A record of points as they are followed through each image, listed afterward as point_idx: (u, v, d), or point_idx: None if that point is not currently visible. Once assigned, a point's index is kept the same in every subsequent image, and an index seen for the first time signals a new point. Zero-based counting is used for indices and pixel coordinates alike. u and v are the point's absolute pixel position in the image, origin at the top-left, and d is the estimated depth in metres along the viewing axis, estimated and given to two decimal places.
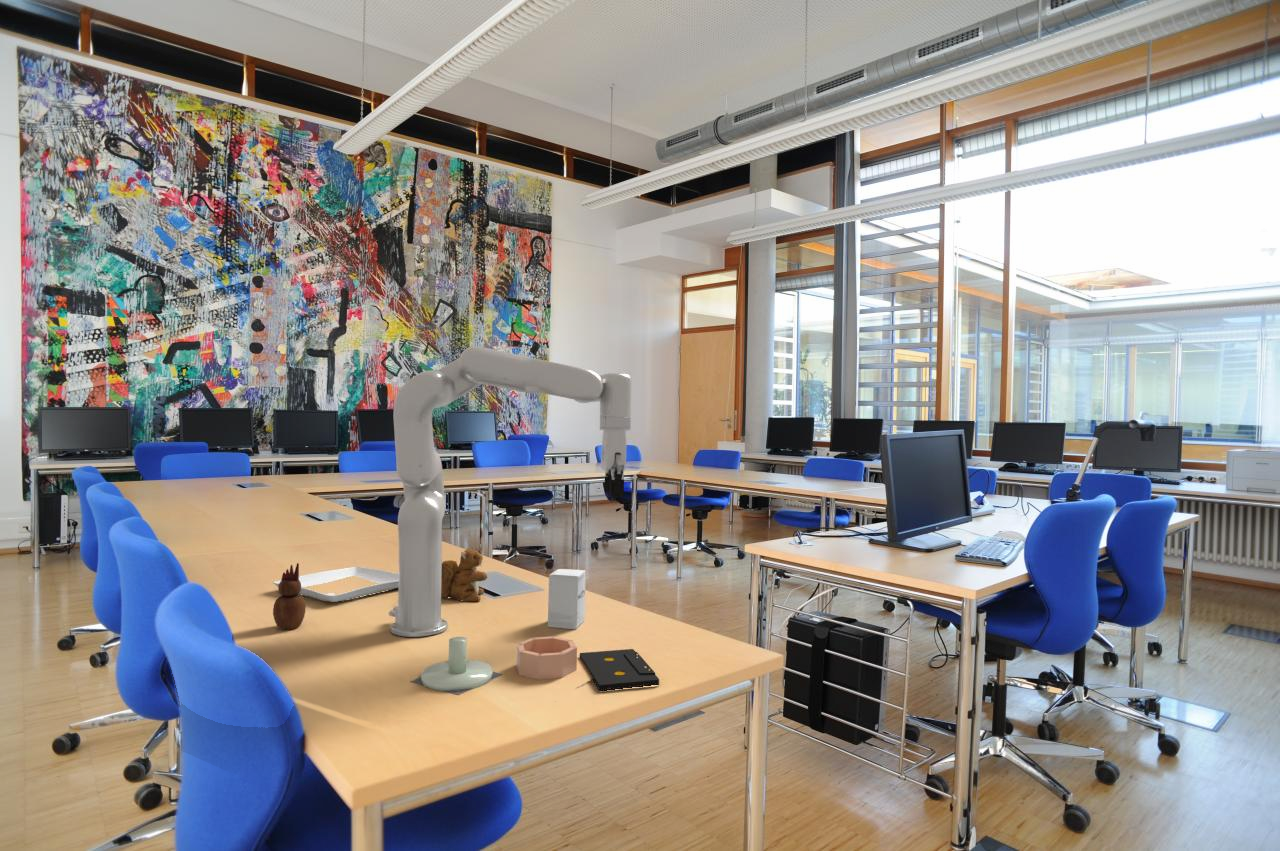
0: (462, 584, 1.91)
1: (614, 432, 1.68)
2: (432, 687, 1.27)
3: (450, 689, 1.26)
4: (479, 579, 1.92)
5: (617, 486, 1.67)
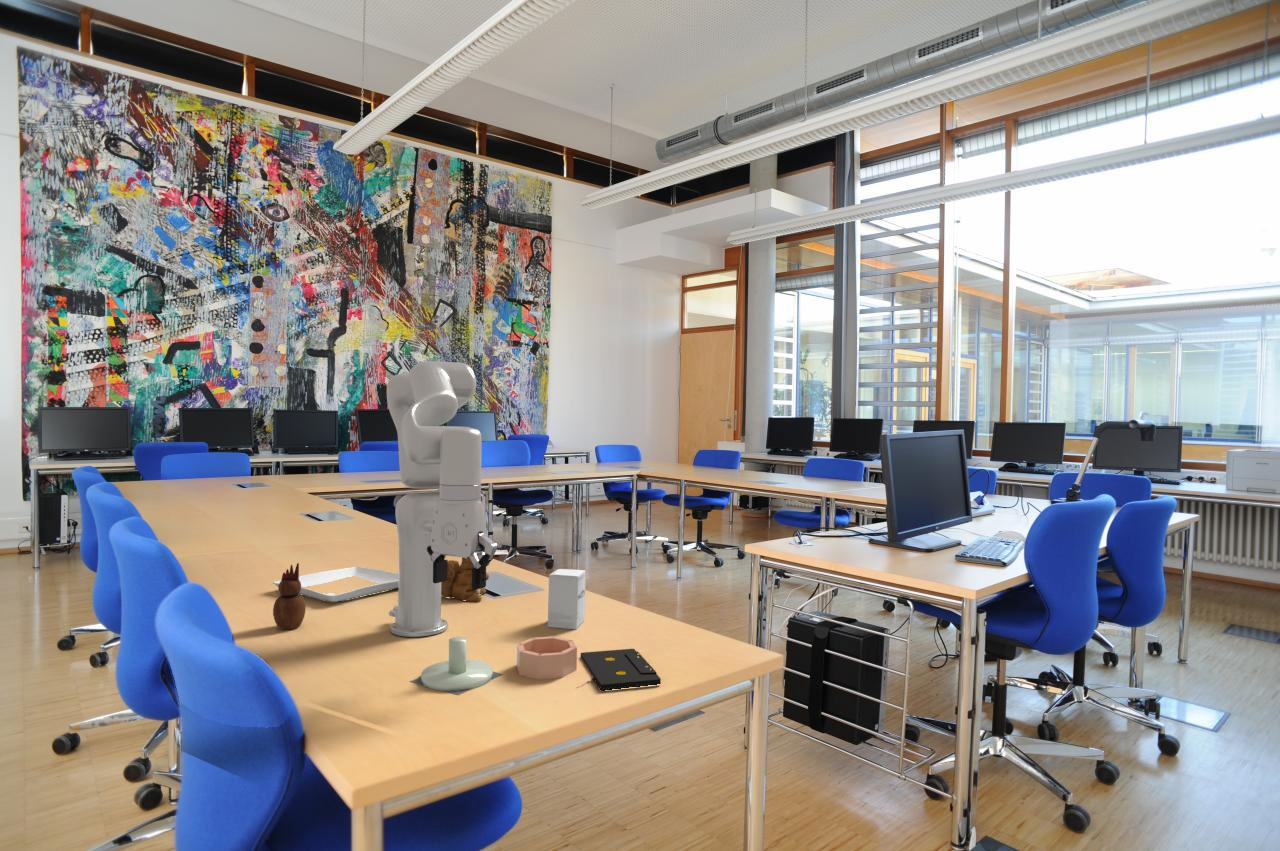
0: (463, 584, 1.91)
1: (475, 506, 1.30)
2: (432, 687, 1.27)
3: (450, 689, 1.26)
4: None
5: (482, 575, 1.30)
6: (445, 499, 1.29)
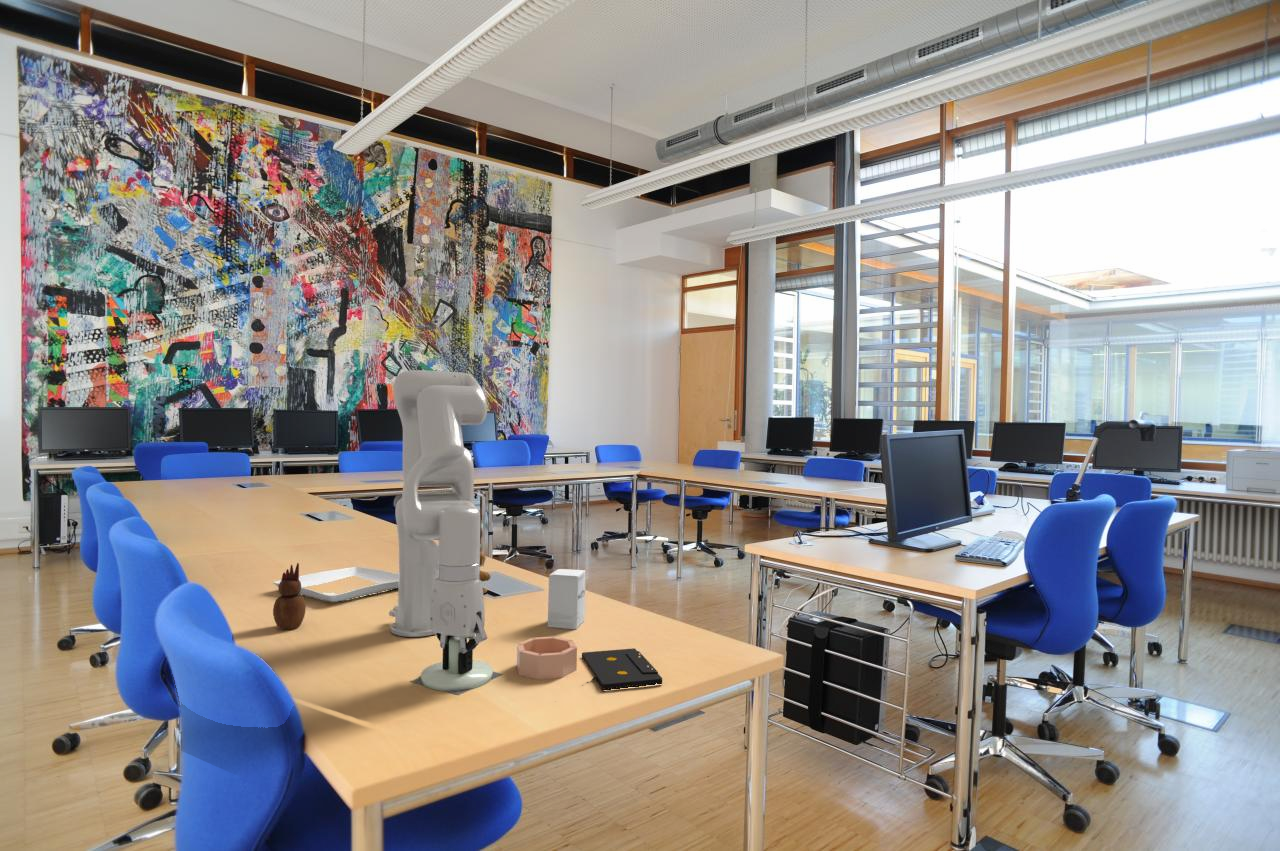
0: None
1: (474, 586, 1.30)
2: (432, 687, 1.27)
3: (450, 689, 1.26)
4: (481, 579, 1.92)
5: (469, 659, 1.31)
6: (444, 579, 1.30)
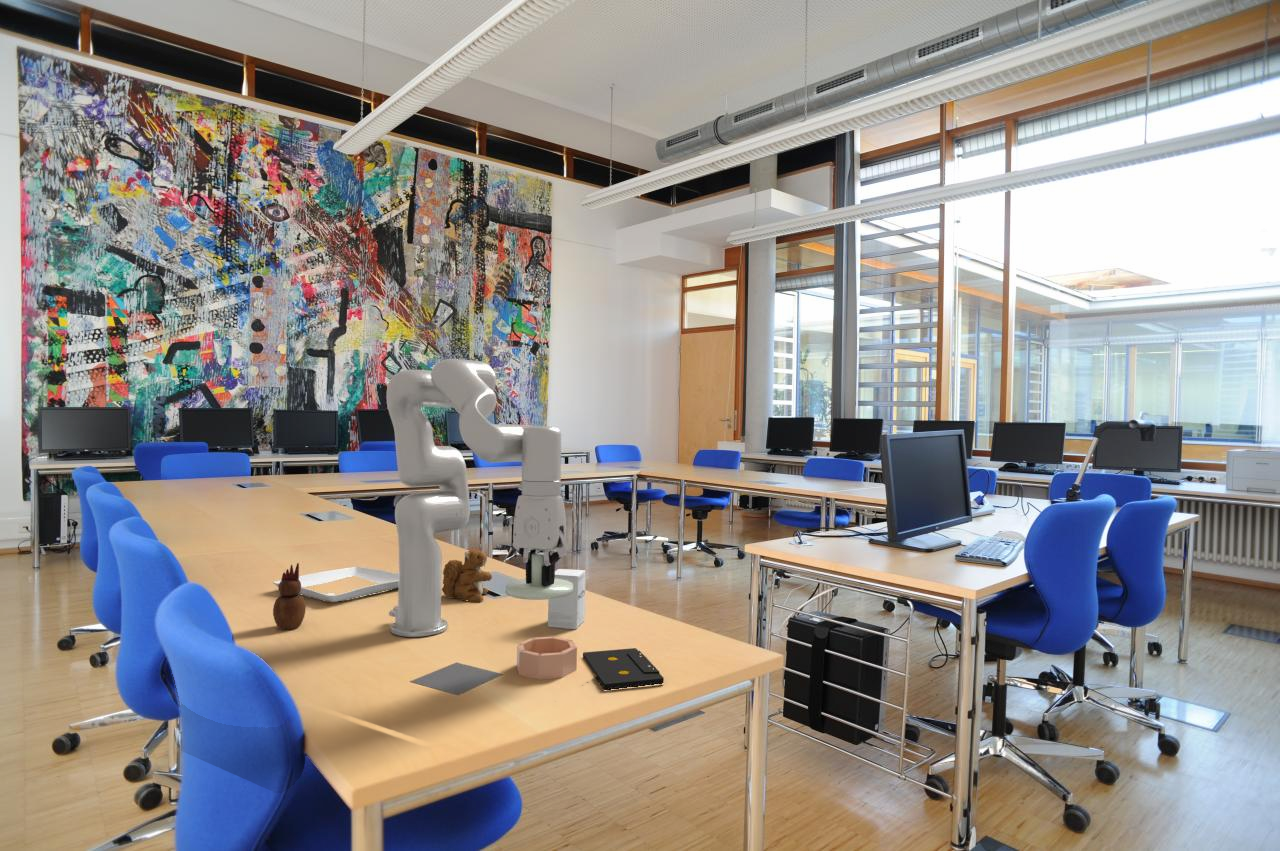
0: (465, 584, 1.91)
1: (557, 501, 1.35)
2: (518, 596, 1.32)
3: (536, 598, 1.31)
4: (482, 579, 1.92)
5: (551, 572, 1.36)
6: (528, 494, 1.35)
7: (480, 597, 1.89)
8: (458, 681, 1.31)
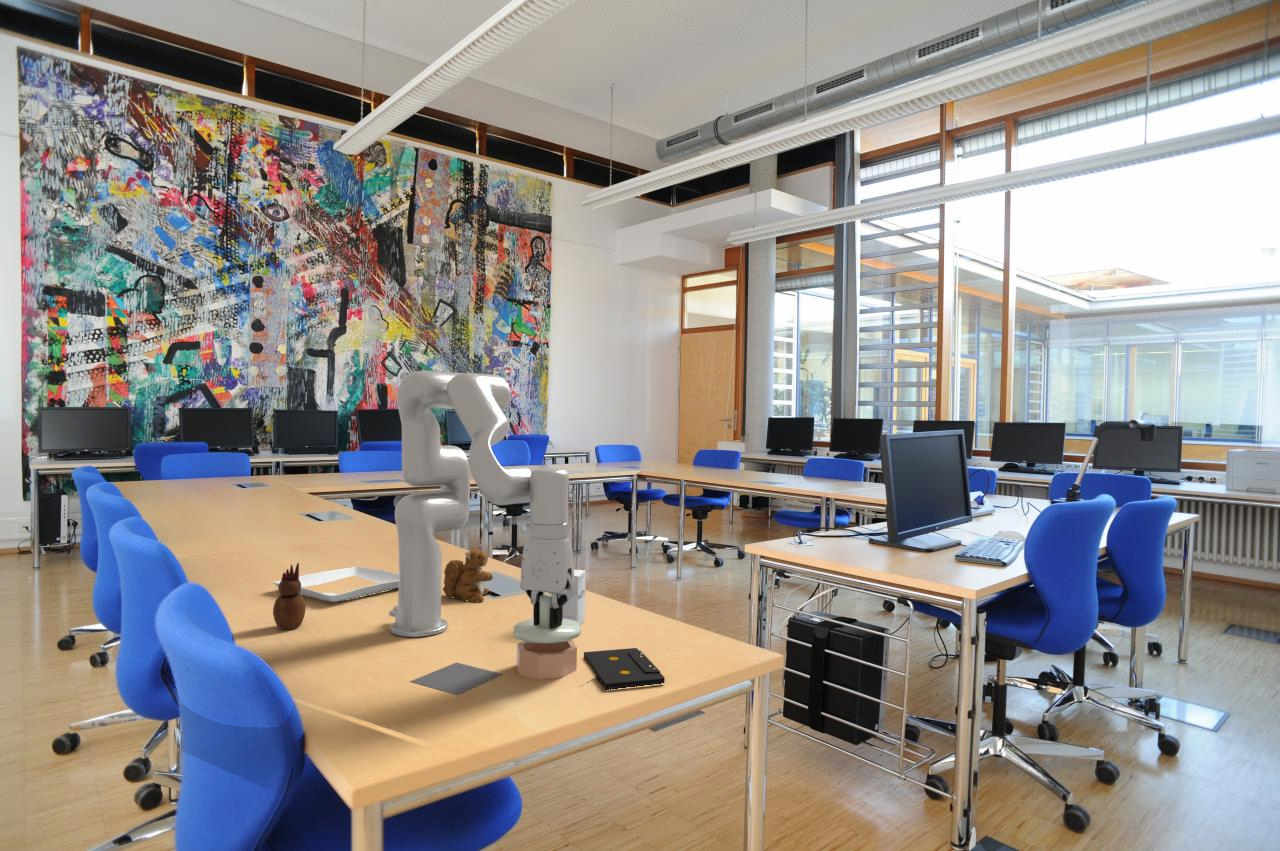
0: (466, 584, 1.91)
1: (565, 544, 1.36)
2: (527, 640, 1.33)
3: (545, 641, 1.32)
4: (483, 579, 1.92)
5: (559, 614, 1.37)
6: (536, 538, 1.35)
7: (481, 597, 1.89)
8: (458, 681, 1.31)
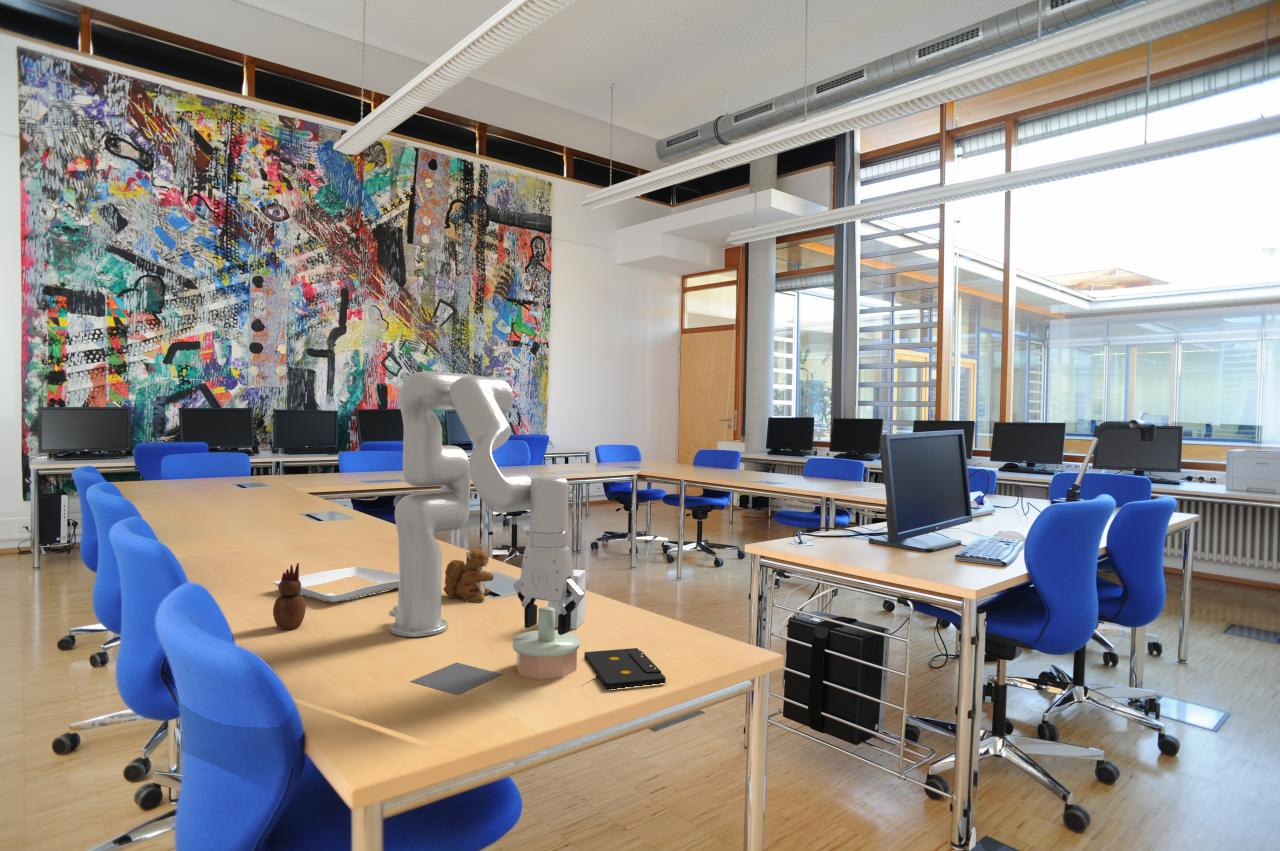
0: (466, 584, 1.91)
1: (565, 552, 1.36)
2: (526, 653, 1.33)
3: (544, 655, 1.32)
4: (484, 579, 1.92)
5: (568, 620, 1.36)
6: (536, 546, 1.35)
7: (481, 597, 1.89)
8: (458, 681, 1.31)
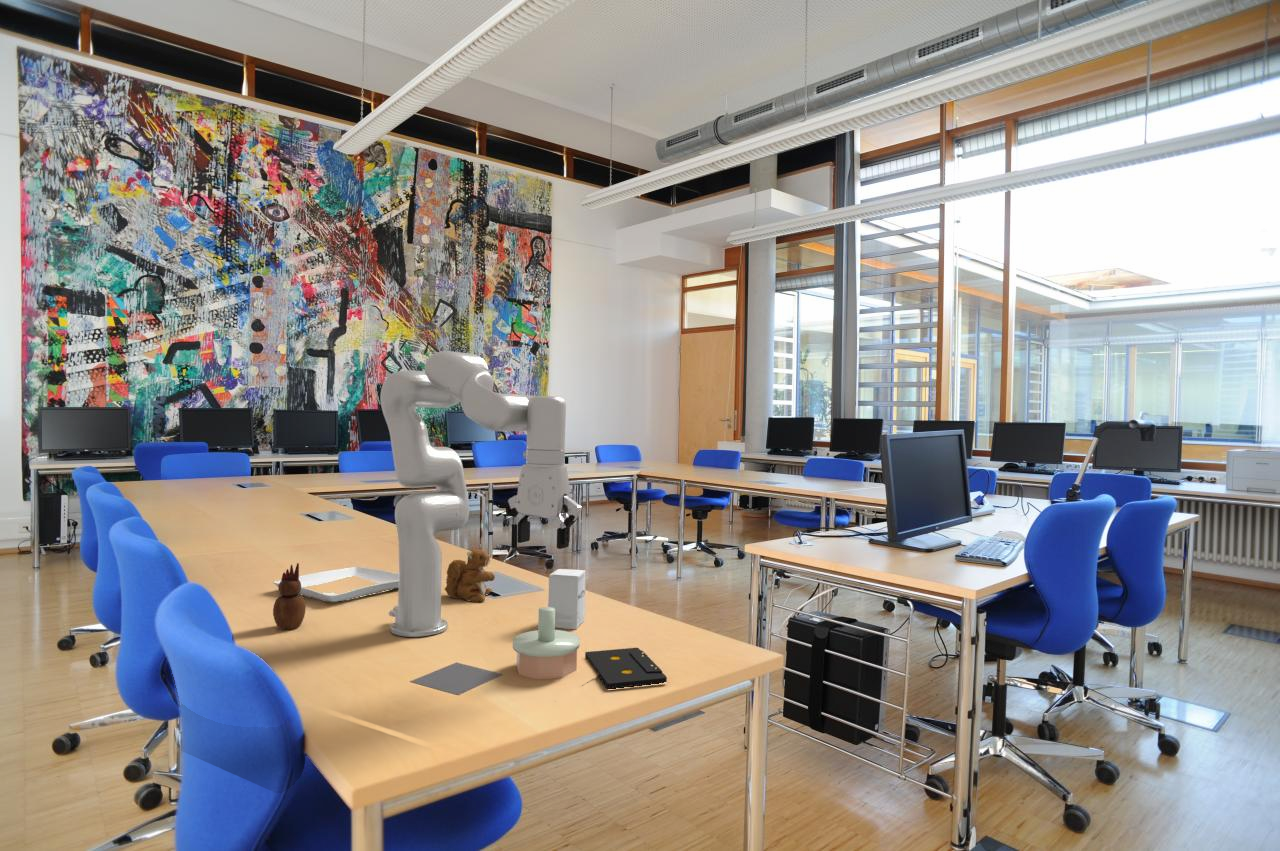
0: (467, 584, 1.91)
1: (561, 469, 1.37)
2: (526, 653, 1.33)
3: (544, 655, 1.32)
4: (484, 579, 1.92)
5: (566, 535, 1.37)
6: (533, 463, 1.37)
7: (482, 597, 1.89)
8: (458, 681, 1.31)
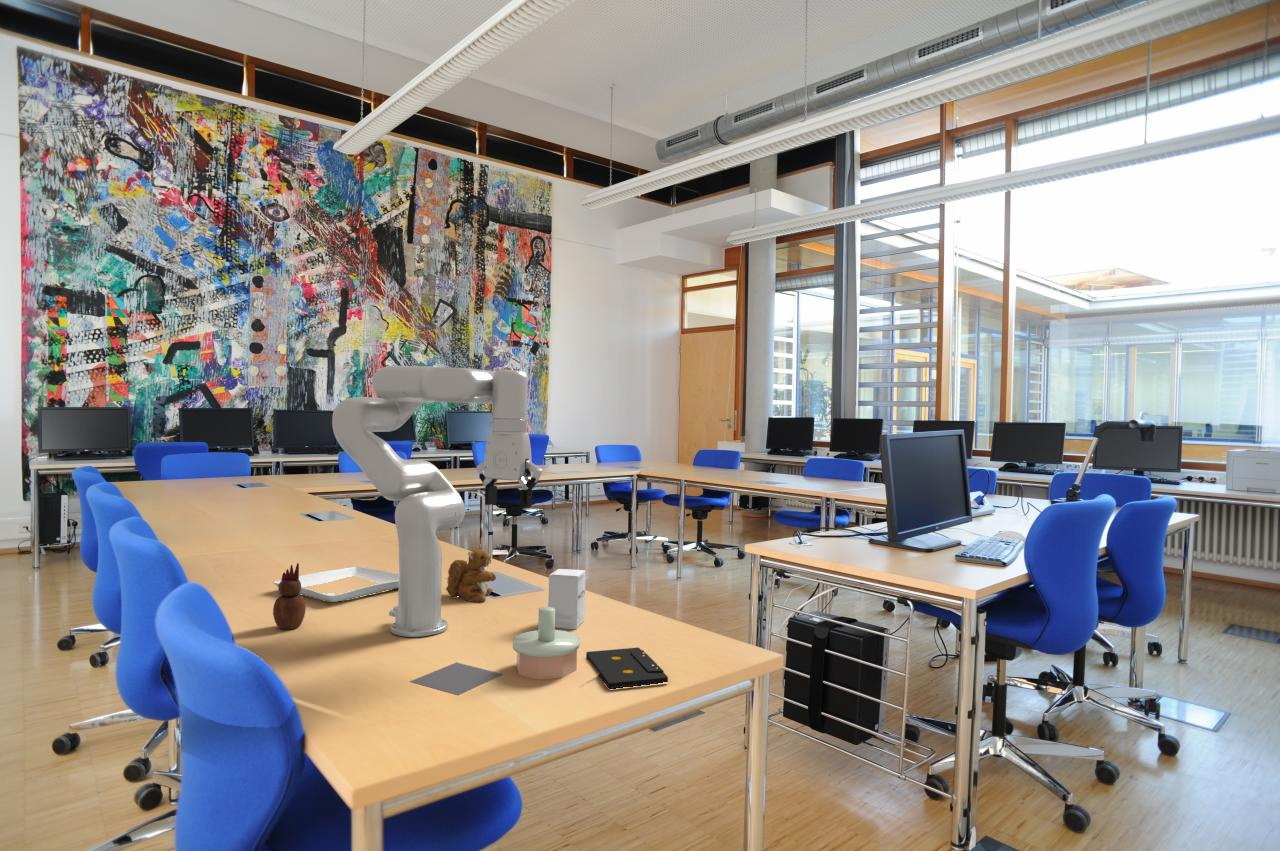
0: (468, 584, 1.91)
1: (523, 436, 1.51)
2: (526, 653, 1.33)
3: (544, 655, 1.32)
4: (485, 579, 1.91)
5: (529, 496, 1.51)
6: (497, 430, 1.51)
7: (482, 597, 1.89)
8: (458, 681, 1.31)
